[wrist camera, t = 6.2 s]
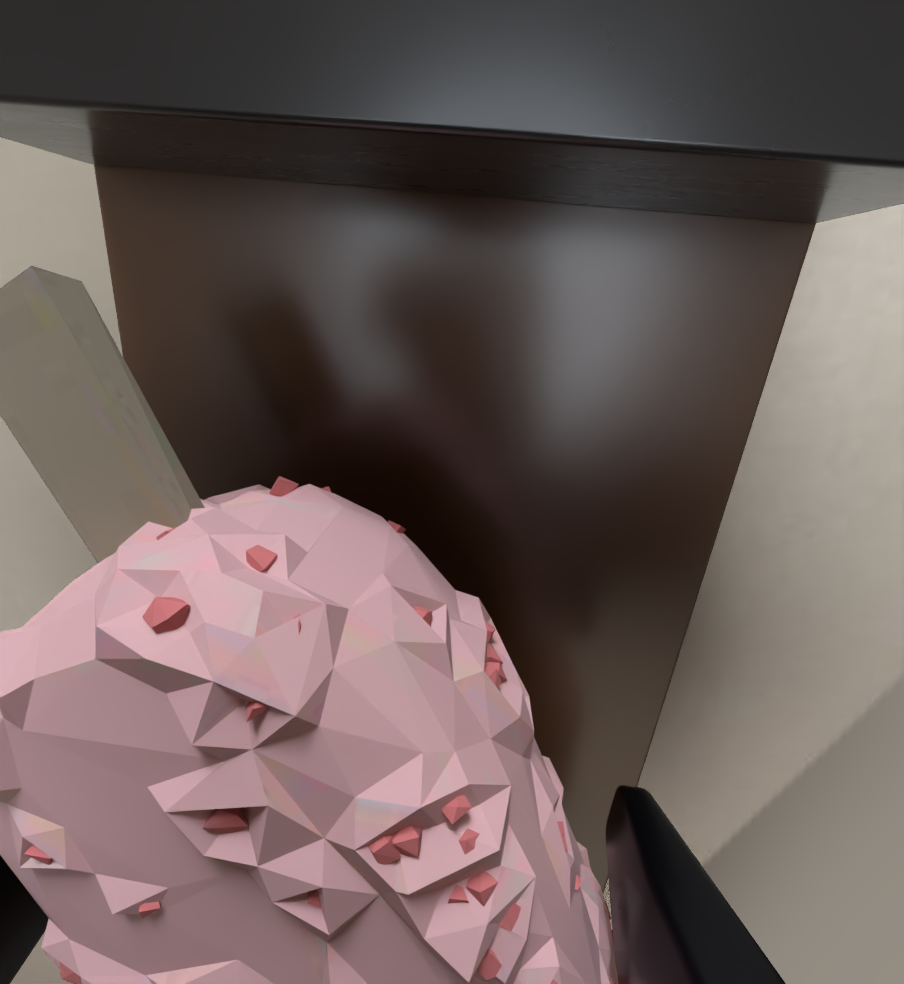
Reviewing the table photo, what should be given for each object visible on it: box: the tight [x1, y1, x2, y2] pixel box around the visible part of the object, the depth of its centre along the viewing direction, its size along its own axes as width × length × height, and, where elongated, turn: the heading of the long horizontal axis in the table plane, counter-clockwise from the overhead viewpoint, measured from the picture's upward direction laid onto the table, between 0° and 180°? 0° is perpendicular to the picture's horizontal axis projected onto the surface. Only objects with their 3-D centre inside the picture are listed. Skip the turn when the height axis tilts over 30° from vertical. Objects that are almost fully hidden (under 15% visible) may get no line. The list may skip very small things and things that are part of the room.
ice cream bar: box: [0, 266, 618, 984], centre depth 7 cm, size 6×4×15 cm
